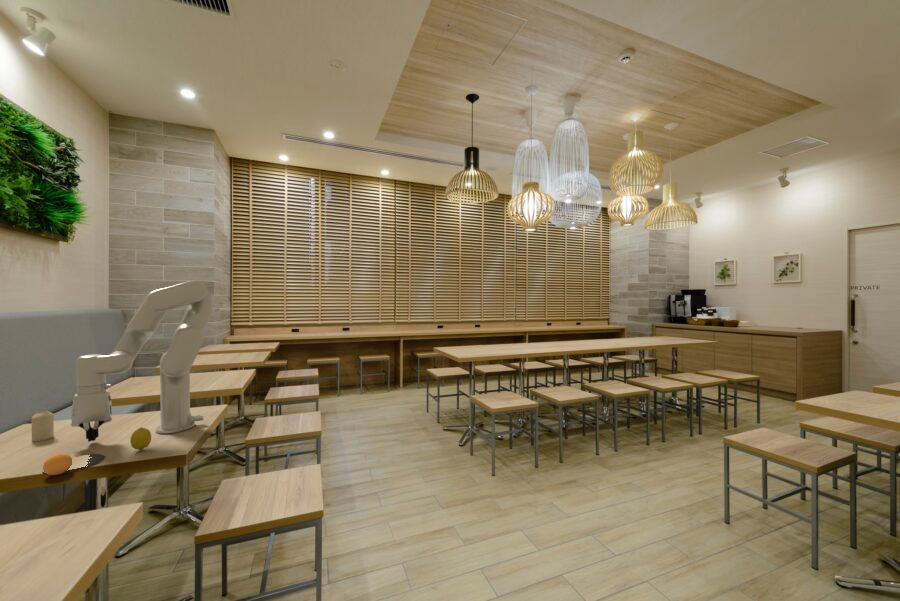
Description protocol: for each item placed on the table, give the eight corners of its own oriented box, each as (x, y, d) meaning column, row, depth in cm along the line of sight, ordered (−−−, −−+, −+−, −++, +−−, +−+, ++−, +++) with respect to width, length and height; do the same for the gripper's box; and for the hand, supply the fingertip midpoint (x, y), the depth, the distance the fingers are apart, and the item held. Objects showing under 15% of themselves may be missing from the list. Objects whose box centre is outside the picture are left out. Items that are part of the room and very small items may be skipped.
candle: (28, 442, 135) (27, 415, 134) (37, 437, 140) (36, 410, 139) (48, 440, 137) (48, 413, 137) (57, 434, 142) (56, 408, 142)
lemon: (139, 454, 124) (139, 430, 124) (126, 453, 126) (126, 429, 125) (155, 447, 130) (155, 425, 130) (142, 446, 131) (142, 424, 131)
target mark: (110, 451, 127) (110, 450, 127) (98, 467, 115) (98, 466, 115) (52, 460, 120) (52, 460, 120) (33, 479, 108) (33, 478, 108)
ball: (66, 454, 110) (63, 475, 109) (77, 450, 115) (75, 470, 114) (39, 457, 108) (36, 479, 107) (52, 452, 113) (49, 473, 112)
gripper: (121, 384, 140) (121, 432, 141) (66, 389, 133) (67, 440, 133) (116, 388, 134) (117, 439, 134) (58, 394, 126) (59, 448, 126)
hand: (92, 439), depth 134 cm, fingers closed
